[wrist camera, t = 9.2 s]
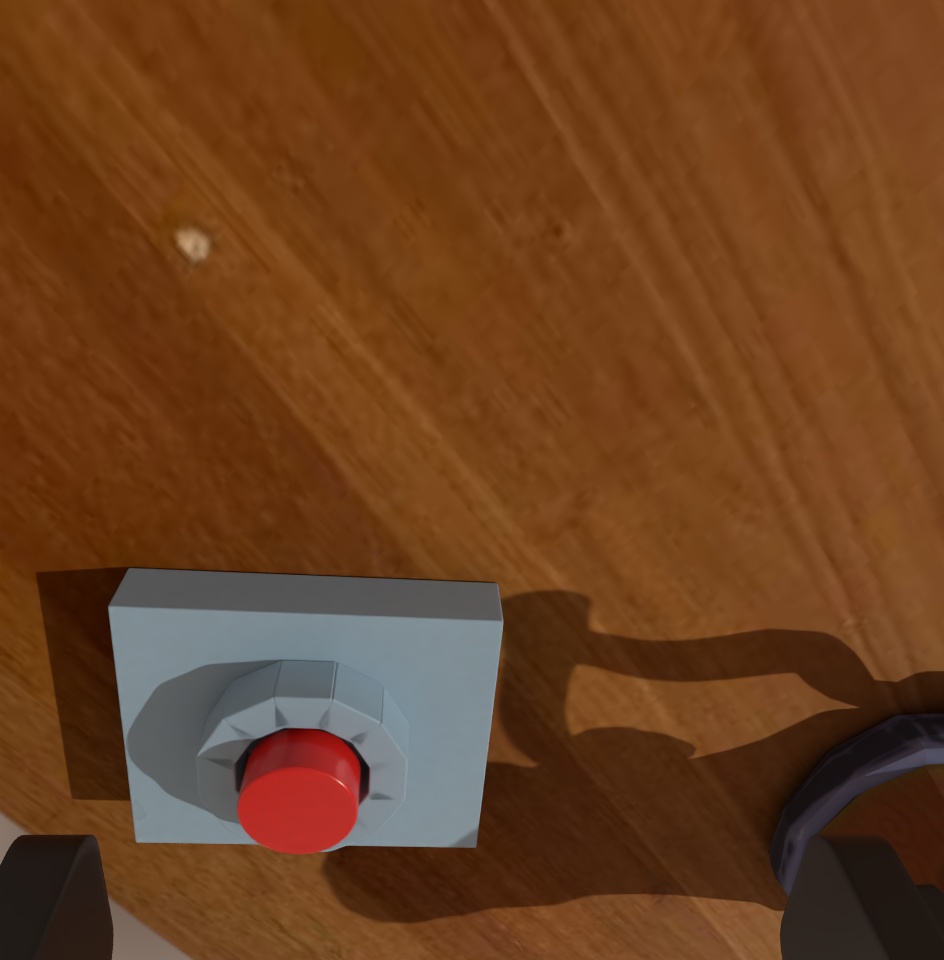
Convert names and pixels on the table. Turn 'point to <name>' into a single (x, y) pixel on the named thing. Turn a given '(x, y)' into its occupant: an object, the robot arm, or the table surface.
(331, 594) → the button box
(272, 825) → the button
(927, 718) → the mug
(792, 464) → the table surface
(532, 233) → the table surface
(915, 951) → the robot arm
